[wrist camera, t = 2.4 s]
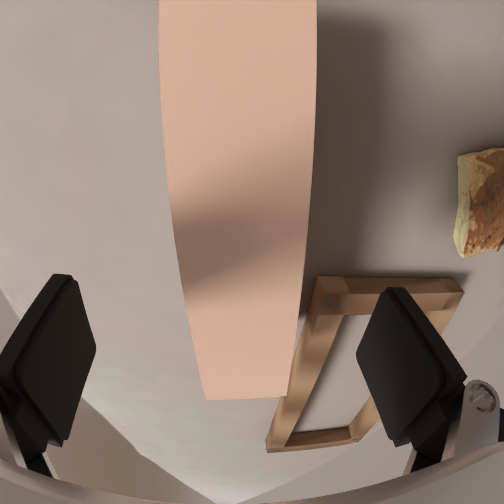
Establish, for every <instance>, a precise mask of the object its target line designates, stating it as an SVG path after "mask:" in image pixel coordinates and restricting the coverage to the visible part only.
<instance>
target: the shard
mask: <svg viewBox="0 0 504 504" xmlns="http://www.w3.org/2000/svg"><path fill="white" fill-rule="evenodd" d="M457 159H458V201H459V203H458V209H457V215H456V221H455V231H454V235H453V237H454V241H455V244H456V247H457V250H458V253H459V255H460V256H461V257H463V258H466V257H469V256H472V255H474V254H476V253H480V252H482V251H486V250H493V249H494V250H495V251H496V252H498V251H499V249H500V248H501V247H502V245H503V244H504V148H491V149H488V150H483V151H482V152H475V153H467V154H464V155H461V156H458V157H457Z"/></svg>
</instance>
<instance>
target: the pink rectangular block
mask: <svg viewBox="0 0 504 504" xmlns="http://www.w3.org/2000/svg"><path fill="white" fill-rule="evenodd" d="M316 70H317V10H316V0H159V72H160V95H161V112H162V127H163V140H164V151H165V162H166V172H167V182H168V191H169V199H170V207H171V215H172V223H173V230H174V237H175V244H176V251H177V257H178V264H179V270H180V276H181V282H182V288H183V294H184V299H185V305H186V310H187V315H188V321H189V326H190V331H191V336H192V341H193V345H194V350H195V355H196V359H197V364H198V368H199V373H200V377H201V381H202V386H203V390H204V394H205V398H206V400H226V399H250V398H266V397H278V396H287V390H288V384H289V377H290V371H291V364H292V358H293V351H294V344H295V336H296V329H297V322H298V314H299V306H300V298H301V289H302V280H303V271H304V262H305V252H306V242H307V232H308V220H309V209H310V196H311V182H312V168H313V151H314V132H315V108H316Z"/></svg>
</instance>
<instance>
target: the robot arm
mask: <svg viewBox="0 0 504 504" xmlns="http://www.w3.org/2000/svg"><path fill="white" fill-rule="evenodd" d="M95 353H96V344H95V341H94V338H93V334H92V331H91V328H90V325H89V321H88V318H87V315H86V311H85V308H84V304H83V300H82V296H81V293H80V289H79V285H78V282H77V281H76V280H74V279H73V277H72V276H71V275H65V274H53V275H52V276H51V278H50V279H49V280H48V282H47V283H46V285H45V286H44V287H43V289H42V290H41V291H40V293H39V294H38V296H37V297H36V299H35V300H34V302H33V303H32V304H31V306H30V307H29V309H28V310H27V312H26V313H25V315H24V316H23V318H22V320H21V321H20V323H19V324H18V326H17V327H16V329H15V331H14V332H13V334H12V335H11V337H10V339H9V340H8V342H7V344H6V346H5V347H4V349H3V351H2V352H1V354H0V504H185V503H171V502H162V501H154V500H146V499H139V498H133V497H127V496H122V495H116V494H112V493H107V492H102V491H98V490H94V489H90V488H86V487H82V486H78V485H75V484H71V483H68V482H64V481H61V480H59V478H58V476H57V474H56V472H55V470H54V468H53V466H52V464H51V462H50V460H49V458H48V455H47V453H46V447H47V444H51V445H54V446H58V447H62V445H63V441H64V440H67V439H68V437H69V435H70V431H71V428H72V424H73V421H74V417H75V413H76V410H77V407H78V404H79V401H80V398H81V394H82V391H83V388H84V385H85V382H86V379H87V376H88V373H89V371H90V368H91V365H92V362H93V359H94V356H95ZM356 358H357V362H358V364H359V366H360V369H361V371H362V373H363V376H364V378H365V381H366V383H367V385H368V388H369V390H370V393H371V395H372V398H373V400H374V403H375V405H376V408H377V410H378V413H379V415H380V418H381V420H382V423H383V425H384V428H385V431H386V433H387V436H388V438H389V439H390V440H393V442H394V445H395V447H398V446H402V445H405V444H408V443H410V442H411V443H412V446H413V449H412V452H411V454H410V457H409V460H408V462H407V465H406V468H405V470H404V473H403V476H401V477H398V478H395V479H392V480H388V481H385V482H382V483H378V484H375V485H371V486H367V487H363V488H359V489H355V490H351V491H346V492H342V493H337V494H332V495H326V496H321V497H315V498H309V499H302V500H294V501H286V502H276V503H263V504H504V409H502V408H500V401H499V397H498V395H497V392H496V391H495V390H494V388H493V387H492V386H491V385H489V384H488V383H486V382H484V381H481V380H472V381H470V382H469V383H468V384H467V385H466V386H465V385H464V384H463V382H464V381H465V379H466V378H467V375H466V374H465V372H464V370H463V369H462V367H461V366H460V364H459V363H458V361H457V360H456V358H455V357H454V355H453V354H452V352H451V351H450V349H449V348H448V346H447V345H446V343H445V342H444V340H443V339H442V337H441V336H440V335H439V333H438V332H437V330H436V329H435V327H434V326H433V325H432V323H431V322H430V321H429V319H428V318H427V316H426V315H425V314H424V312H423V311H422V310H421V308H420V307H419V306H418V304H417V303H416V302H415V300H414V299H413V298H412V296H411V295H410V294H409V292H408V291H407V290H406V289H405V288H404V287H387V288H386V289H385V290H384V291H383V292H381V294H380V296H379V298H378V301H377V303H376V306H375V308H374V311H373V313H372V316H371V318H370V321H369V323H368V326H367V328H366V330H365V333H364V335H363V337H362V340H361V342H360V344H359V346H358V349H357V352H356Z"/></svg>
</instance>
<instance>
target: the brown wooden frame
mask: <svg viewBox="0 0 504 504" xmlns="http://www.w3.org/2000/svg"><path fill="white" fill-rule="evenodd" d="M387 287H404V288H405V289H406V290H407V291H408V292H409V294H410V295H411V296H412V298H413V299H414V300H415V302H416V303H417V304H418V306H419V307H420V308H421V310H422V311H423V312H424V314H425V315H426V316H427V318H428V319H429V321H430V322H431V323H432V325H433V326H434V327H435V329H436V330H437V332H438V333H439V335H441V333H442V332H443V330H444V328H445V327H446V325H447V323H448V322H449V320H450V318H451V316H452V315H453V313H454V311H455V309H456V308H457V306H458V304H459V302H460V300H461V298H462V296H463V295H464V293H465V292H464V291H463V289H462V288H461V287H460V286H459V285H458V284H457V282H456V281H455V280H454V279H453V278H384V277H340V276H317V280H316V283H315V287H314V291H313V295H312V298H311V302H310V305H309V309H308V312H307V316H306V319H305V323H304V326H303V330H302V333H301V336H300V340H299V343H298V346H297V349H296V353H295V356H294V359H293V362H292V365H291V371H290V377H289V384H288V390H287V396H281V399H280V401H279V404H278V407H277V410H276V413H275V416H274V419H273V421H272V424H271V427H270V430H269V432H268V435H267V438H266V449H267V453H272V452H287V451H299V450H309V449H317V448H325V447H332V446H339V445H345V444H351V443H356V442H359V441H360V440H361V439H362V438H363V437H364V435H365V434H366V433H367V432H368V431H369V430H370V429H371V428H372V427H373V425H374V424H375V423H376V422H377V421H378V420H379V419H380V415H379V413H378V410H377V408H376V405H375V403H374V400H373V398H372V395H371V397H370V398H369V400H368V401H367V402H366V404H365V405H364V407H363V408H362V409H361V411H360V412H359V413H358V415H357V416H356V417H355V419H354V420H353V421H352V423H351V424H350V425H349V426H348V427H346V428H339V429H331V430H323V431H314V432H304V433H292V434H291V432H292V430H293V428H294V426H295V424H296V422H297V420H298V418H299V416H300V414H301V412H302V410H303V408H304V406H305V404H306V402H307V400H308V397H309V395H310V393H311V391H312V389H313V387H314V384H315V382H316V380H317V378H318V376H319V373H320V371H321V369H322V366H323V364H324V362H325V359H326V357H327V355H328V352H329V350H330V347H331V345H332V343H333V340H334V338H335V335H336V333H337V330H338V328H339V325H340V322H341V320H342V317H343V315H366V314H372V313H373V311H374V308H375V306H376V303H377V301H378V298H379V296H380V294H381V292H383V291H384V290H385V289H386V288H387Z"/></svg>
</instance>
